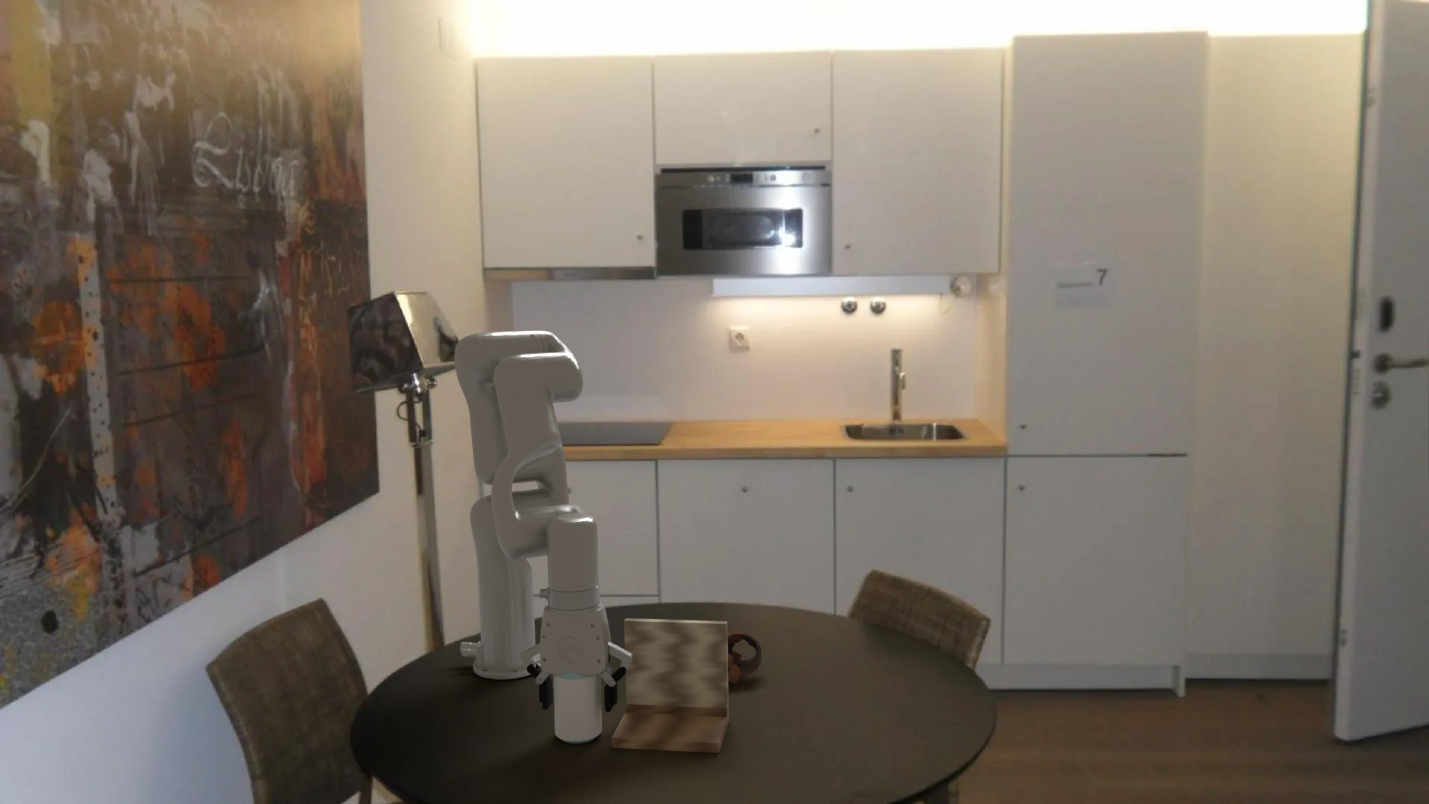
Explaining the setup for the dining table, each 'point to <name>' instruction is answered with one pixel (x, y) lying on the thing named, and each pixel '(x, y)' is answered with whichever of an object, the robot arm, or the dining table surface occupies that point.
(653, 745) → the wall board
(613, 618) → the dining table surface
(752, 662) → the vr controller
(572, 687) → the can
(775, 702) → the dining table surface
